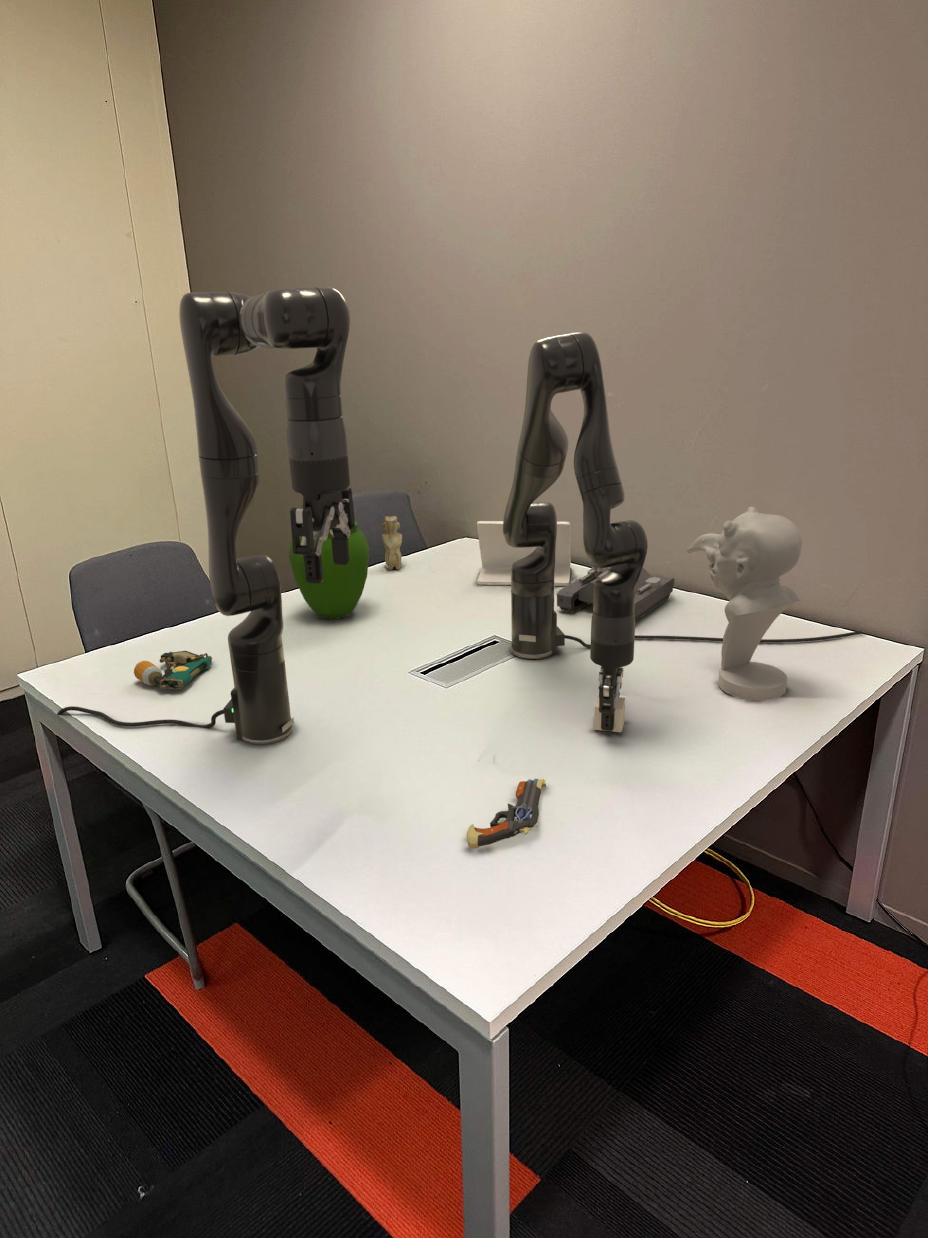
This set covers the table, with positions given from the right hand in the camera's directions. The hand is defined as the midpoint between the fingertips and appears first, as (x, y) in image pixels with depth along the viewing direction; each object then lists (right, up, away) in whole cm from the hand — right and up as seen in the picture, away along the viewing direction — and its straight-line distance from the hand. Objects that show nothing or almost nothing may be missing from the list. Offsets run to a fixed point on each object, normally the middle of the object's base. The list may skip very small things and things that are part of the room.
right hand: (609, 722), depth 154 cm
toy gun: (-20, -11, -26) cm, 34 cm away
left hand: (-45, +25, -38) cm, 64 cm away
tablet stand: (-9, +31, +85) cm, 91 cm away
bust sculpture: (+27, +6, +16) cm, 32 cm away
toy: (+12, +22, +60) cm, 65 cm away
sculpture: (-47, +34, +95) cm, 111 cm away
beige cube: (0, 0, 0) cm, 0 cm away
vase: (-59, +20, +60) cm, 86 cm away
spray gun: (-87, +6, +27) cm, 91 cm away
